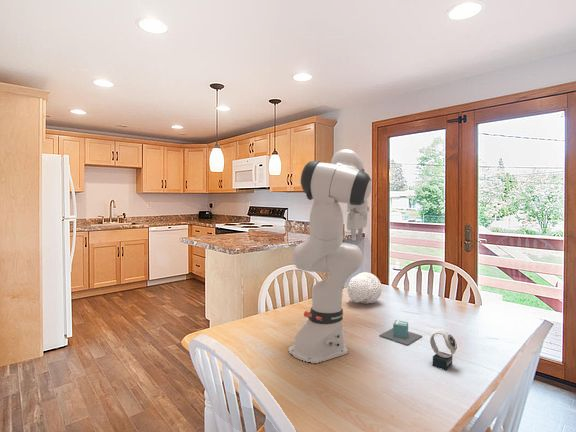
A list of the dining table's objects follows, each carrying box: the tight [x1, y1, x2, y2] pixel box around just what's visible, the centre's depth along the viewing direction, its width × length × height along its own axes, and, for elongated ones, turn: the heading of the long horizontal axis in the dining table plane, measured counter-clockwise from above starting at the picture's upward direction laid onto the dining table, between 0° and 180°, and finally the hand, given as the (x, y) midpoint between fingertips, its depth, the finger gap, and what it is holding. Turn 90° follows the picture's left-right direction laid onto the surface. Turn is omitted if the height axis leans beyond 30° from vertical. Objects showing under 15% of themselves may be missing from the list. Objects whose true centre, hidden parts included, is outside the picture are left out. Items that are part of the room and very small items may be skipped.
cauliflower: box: [346, 271, 383, 304], centre depth 174 cm, size 20×18×16 cm
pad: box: [378, 327, 423, 347], centre depth 134 cm, size 12×12×1 cm
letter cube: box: [392, 319, 409, 339], centre depth 134 cm, size 5×5×5 cm
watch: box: [429, 330, 458, 371], centre depth 111 cm, size 6×8×11 cm
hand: (357, 238), depth 150 cm, fingers open, 8 cm apart
